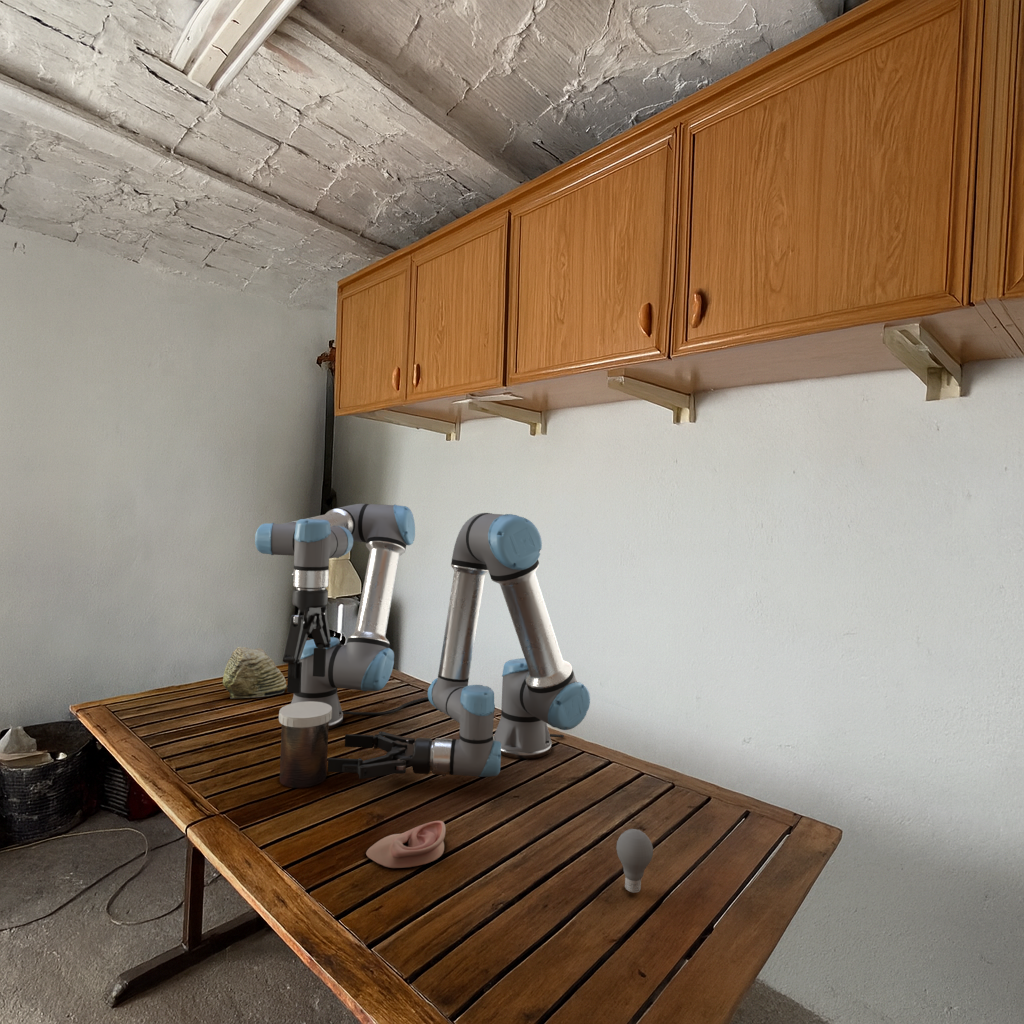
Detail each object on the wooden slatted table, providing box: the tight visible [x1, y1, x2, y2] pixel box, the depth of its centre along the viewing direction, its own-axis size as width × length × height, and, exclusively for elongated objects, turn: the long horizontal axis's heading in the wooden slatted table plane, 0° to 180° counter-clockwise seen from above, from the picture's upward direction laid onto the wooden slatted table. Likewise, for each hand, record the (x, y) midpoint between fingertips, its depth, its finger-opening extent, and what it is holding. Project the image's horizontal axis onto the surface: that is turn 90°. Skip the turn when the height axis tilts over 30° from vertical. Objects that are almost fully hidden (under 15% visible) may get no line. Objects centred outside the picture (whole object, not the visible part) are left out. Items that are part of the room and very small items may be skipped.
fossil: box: [222, 646, 287, 699], centre depth 198 cm, size 9×18×15 cm, turn 132°
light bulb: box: [615, 828, 654, 894], centre depth 106 cm, size 6×6×10 cm
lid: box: [278, 701, 332, 728], centre depth 142 cm, size 11×11×2 cm
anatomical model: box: [365, 820, 447, 869], centre depth 114 cm, size 13×4×12 cm
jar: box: [279, 721, 329, 789], centre depth 142 cm, size 10×10×15 cm
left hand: (306, 684), depth 142 cm, fingers open, 12 cm apart
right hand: (337, 752), depth 141 cm, fingers open, 13 cm apart
